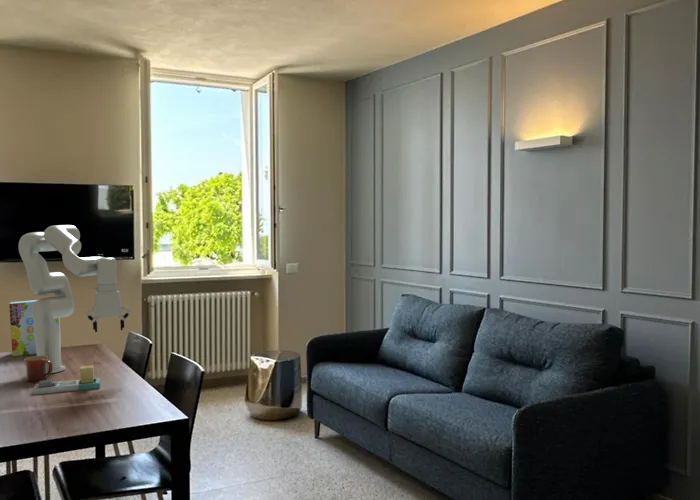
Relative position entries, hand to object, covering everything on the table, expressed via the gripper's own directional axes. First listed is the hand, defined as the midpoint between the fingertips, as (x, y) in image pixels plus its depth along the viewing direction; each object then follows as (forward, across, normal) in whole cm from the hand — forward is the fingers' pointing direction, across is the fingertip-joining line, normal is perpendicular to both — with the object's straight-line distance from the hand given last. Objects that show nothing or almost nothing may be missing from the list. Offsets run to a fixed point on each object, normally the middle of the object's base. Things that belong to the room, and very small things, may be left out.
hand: (109, 330), depth 265 cm
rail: (+20, -15, -11) cm, 28 cm away
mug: (+20, -26, +6) cm, 34 cm away
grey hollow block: (+19, -23, -12) cm, 32 cm away
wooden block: (+19, -8, -11) cm, 24 cm away
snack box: (+21, -35, +72) cm, 83 cm away
